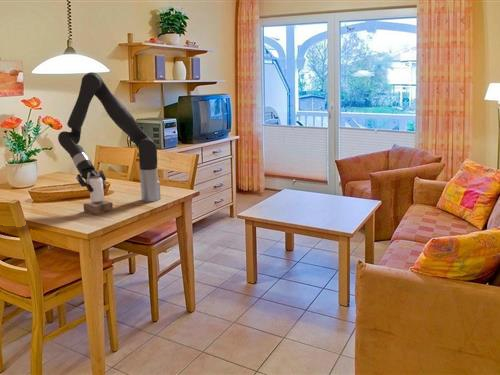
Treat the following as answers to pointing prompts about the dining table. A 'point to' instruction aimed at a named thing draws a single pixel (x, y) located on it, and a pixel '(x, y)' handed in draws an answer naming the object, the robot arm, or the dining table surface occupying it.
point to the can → (96, 189)
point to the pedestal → (98, 207)
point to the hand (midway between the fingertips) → (98, 190)
